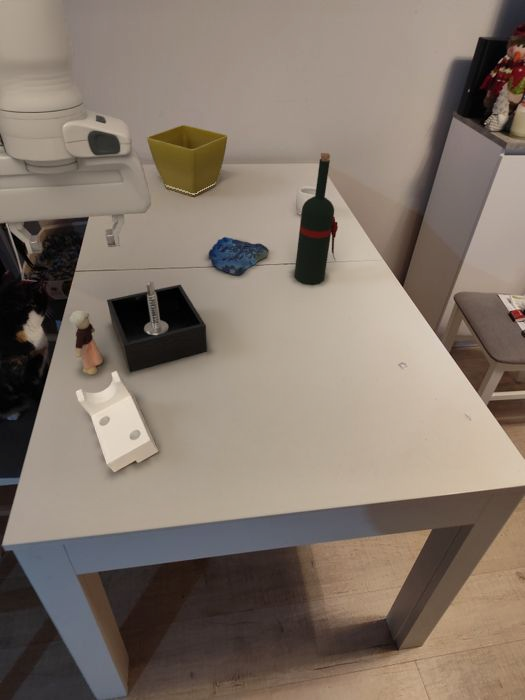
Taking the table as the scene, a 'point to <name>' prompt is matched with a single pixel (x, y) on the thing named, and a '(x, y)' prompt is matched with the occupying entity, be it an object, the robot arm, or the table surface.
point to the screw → (154, 314)
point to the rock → (236, 255)
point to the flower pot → (188, 157)
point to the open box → (154, 350)
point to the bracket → (118, 424)
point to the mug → (304, 196)
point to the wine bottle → (316, 231)
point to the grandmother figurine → (86, 342)
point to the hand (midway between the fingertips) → (75, 248)
